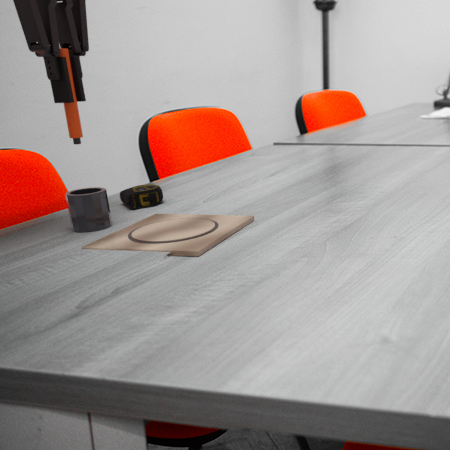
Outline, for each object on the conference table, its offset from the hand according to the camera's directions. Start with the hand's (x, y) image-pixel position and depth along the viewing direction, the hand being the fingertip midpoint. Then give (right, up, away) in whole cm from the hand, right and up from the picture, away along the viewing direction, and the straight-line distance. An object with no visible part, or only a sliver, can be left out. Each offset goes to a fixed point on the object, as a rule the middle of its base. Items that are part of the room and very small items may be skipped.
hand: (70, 101), depth 86 cm
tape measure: (+2, -16, +19) cm, 25 cm away
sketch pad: (+15, -20, +2) cm, 25 cm away
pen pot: (0, -19, +6) cm, 20 cm away
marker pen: (0, -6, +2) cm, 6 cm away
